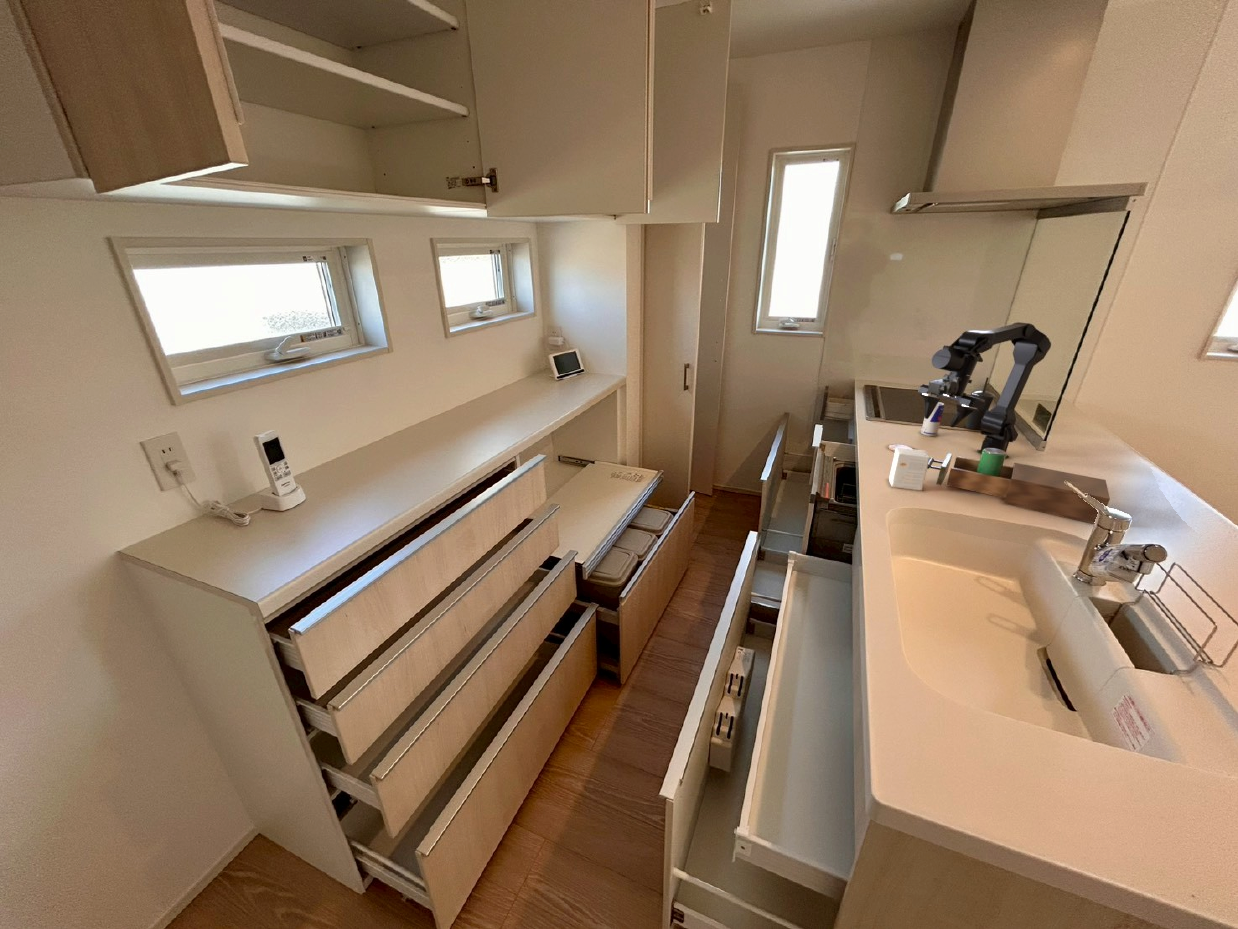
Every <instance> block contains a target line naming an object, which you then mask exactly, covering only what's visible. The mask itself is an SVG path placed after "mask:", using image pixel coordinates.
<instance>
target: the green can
mask: <svg viewBox="0 0 1238 929" xmlns="http://www.w3.org/2000/svg"><path fill="white" fill-rule="evenodd" d="M1006 455H1007V452H1006V453H1005V451H1003V450H1000V449H996V448H985V449H983V451H982V453H981V455H980V458H979V460H980V461H979V465H978V468H977V471H976V472H977V473H981V474H986V475H991V476H996V477H999V476H1000V473H1001V470H1002V466H1003V465H1004V463H1005V460H1006V458H1005V457H1006Z"/></svg>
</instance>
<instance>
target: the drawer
mask: <svg viewBox="0 0 1238 929" xmlns="http://www.w3.org/2000/svg"><path fill="white" fill-rule="evenodd" d="M952 458H953V453H949V452H948V453H947V454H946V456H945V458H944V460H943V461H942V460H937V459H934V457H930V459H929V463H928V467H927V470H929V469H933V470H938V471H939V473H938V475H937V481H936V485H938V486H942V484H943V482H944V481H945V478H946V476H947V474H948V472H949V475H948V477H947V482H946V483H945V484H946V486H950V487H953V488H959V489H963V490H967V491H971V492H976V493H980V494H986V495H990V496H995V497H999V498H1001V499H1005V497H1006V494H1007V491H1008V488H1009V485H1010V482H1011V478H1012V473H1013V466H1010V465H1006V464H1003V466H1002V470H1001V473H1000V476H999V477H996V476H991V475H986V474H981V473H977V472H976V471H977V468H978V465H979V461H980V459H975V458H970V457H969V458H968V457H964V456H959V455H956V457H955V461H954V464H953V467H950V465H951V461H952ZM933 463H937V464H941V466H940V467H939V466H934V465H933ZM949 469H950V470H949Z"/></svg>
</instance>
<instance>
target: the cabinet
mask: <svg viewBox="0 0 1238 929" xmlns="http://www.w3.org/2000/svg"><path fill="white" fill-rule="evenodd" d="M1012 467H1013V473H1012V478H1011V482H1010V485H1009V488H1008V491H1007V494H1006V497H1005V498H1003V499H1004V500H1003V504H1004V505H1009V506H1014V507H1017V508H1022V509H1027V510H1031V511H1035V512H1039V513H1044V514H1048V515H1053V516H1057V517H1062V518H1066V519H1071V520H1075V521H1079V522H1083V523H1086V524H1087V523H1088V524H1092V525H1095V524H1094V522H1095V519H1096V517H1097V514H1098V512H1097V510H1096V509H1095V508H1093V507H1092V506H1091V505H1090V504H1088V503H1087V502H1085V501H1084V500H1083V498H1080V497H1079V496H1078V494H1077V493H1074V492H1073V490H1071V489H1070V488H1069V487H1067V486H1066V485H1065V484H1064V483H1063V482H1064V481H1065V480H1066V481H1068V482H1072V483H1073V484H1074V485H1075V486H1076V487H1078V488H1079V489H1081V490H1083V492H1085V493H1088V495H1090V496H1091V497H1093V498H1095V499H1096V500H1098V501H1099V502H1100V503H1103V504H1104V505H1105V506H1107V507H1108V505H1109V503H1110V502H1111V501H1110V500H1111V498H1110V497H1111V496H1110V493H1109V487H1108V484H1107V480H1106V479H1103V478H1097V477H1092V476H1088V475H1081V474H1076V473H1071V472H1068V471H1067V472H1066V471H1062V470H1054V469H1051V468H1047V467H1046V468H1045V467H1040V466H1034V465H1029V464H1024V463H1019V462H1014V463H1013V466H1012Z"/></svg>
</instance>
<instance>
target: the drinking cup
mask: <svg viewBox="0 0 1238 929" xmlns="http://www.w3.org/2000/svg"><path fill="white" fill-rule="evenodd" d="M989 379H990V378H989V377H986V378H985V382H984V385H983V389H982V390H981V389H980V390H975V391H971V392H970V396H971V397H976V398H979V399H983V400H984V401H985V406H984V408H983V409H978V408H977V409H978V411H973V412H972V413H971V414H969V415H968V416H967V417H966V425H965V428H967V429H969V430H974V431H981V422H982V421H981V420H982V419H983V417H984V415H985V412H986V411H987V410H990V409H991V406H992V403H993V400H994V398H995V397H996V395H995V394H994V393H992V392H991V391H988V390H986V389H987V385H988V382H989Z"/></svg>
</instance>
